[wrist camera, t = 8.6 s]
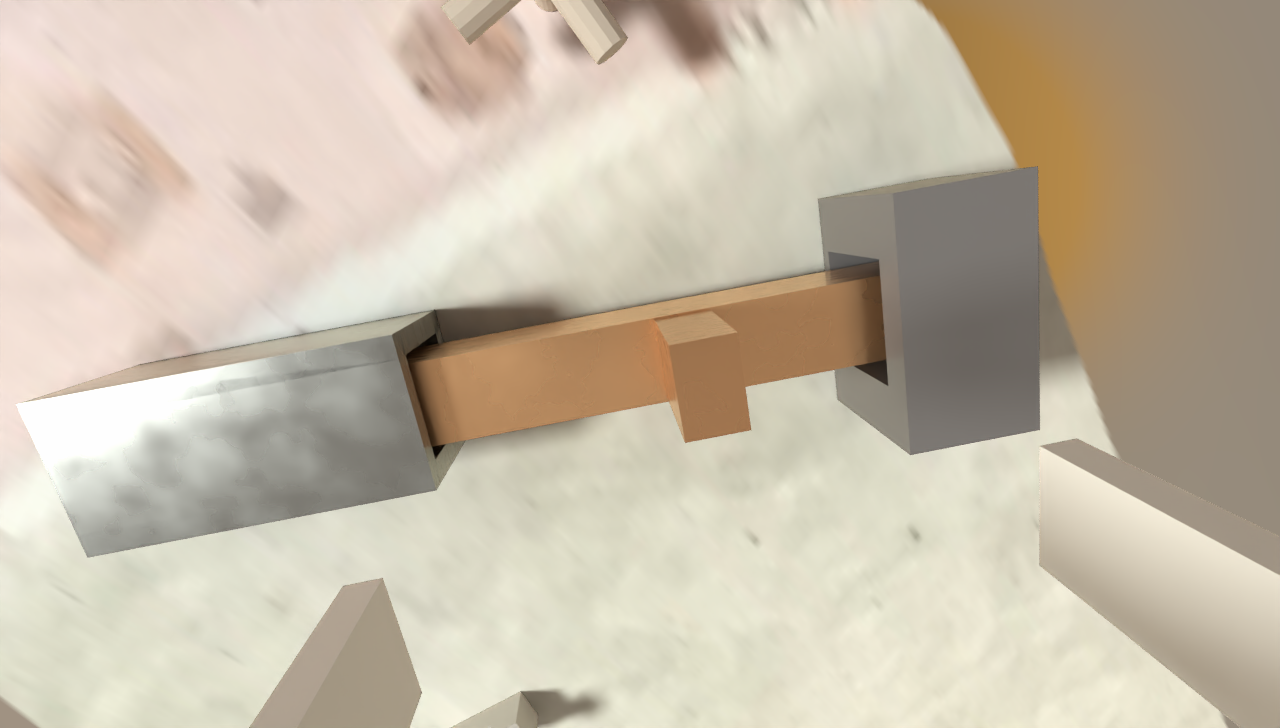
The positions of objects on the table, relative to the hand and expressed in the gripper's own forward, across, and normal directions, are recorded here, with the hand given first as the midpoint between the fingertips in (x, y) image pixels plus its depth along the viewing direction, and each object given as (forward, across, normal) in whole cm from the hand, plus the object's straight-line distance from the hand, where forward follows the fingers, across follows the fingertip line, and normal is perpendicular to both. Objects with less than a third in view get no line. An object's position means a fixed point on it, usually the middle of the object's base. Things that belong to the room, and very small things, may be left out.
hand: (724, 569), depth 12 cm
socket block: (+25, +15, -1) cm, 29 cm away
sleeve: (+25, -20, -1) cm, 32 cm away
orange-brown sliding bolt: (+23, 0, -1) cm, 23 cm away
